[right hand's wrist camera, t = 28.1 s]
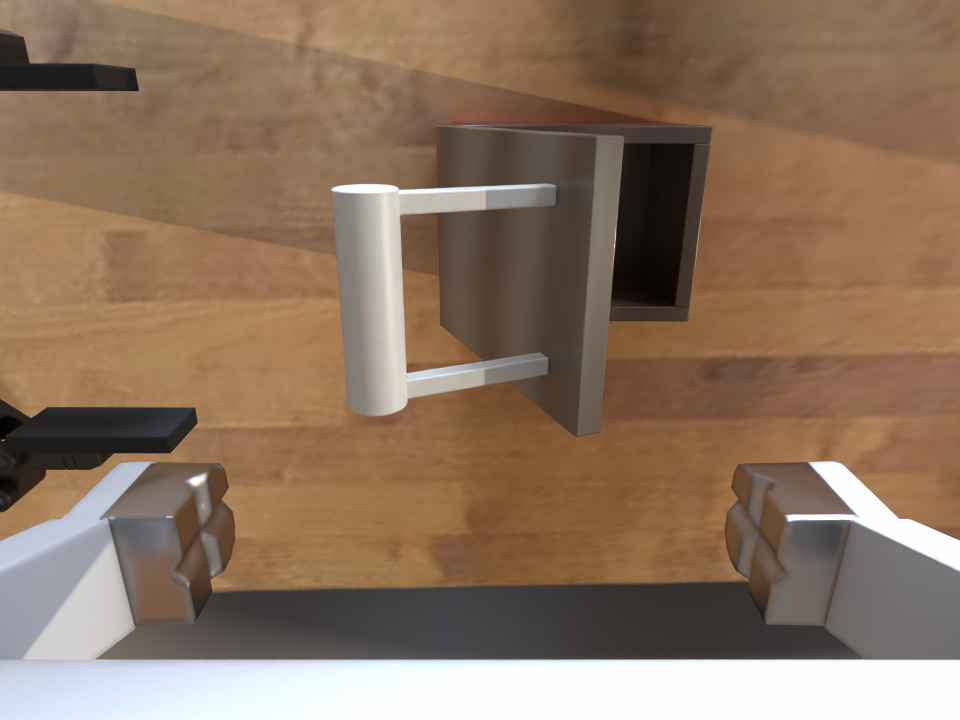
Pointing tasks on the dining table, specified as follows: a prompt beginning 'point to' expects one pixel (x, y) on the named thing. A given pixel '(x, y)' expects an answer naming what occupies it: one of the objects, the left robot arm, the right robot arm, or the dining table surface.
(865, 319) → the dining table surface
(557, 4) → the dining table surface
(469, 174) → the lid
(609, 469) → the dining table surface
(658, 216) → the chest
